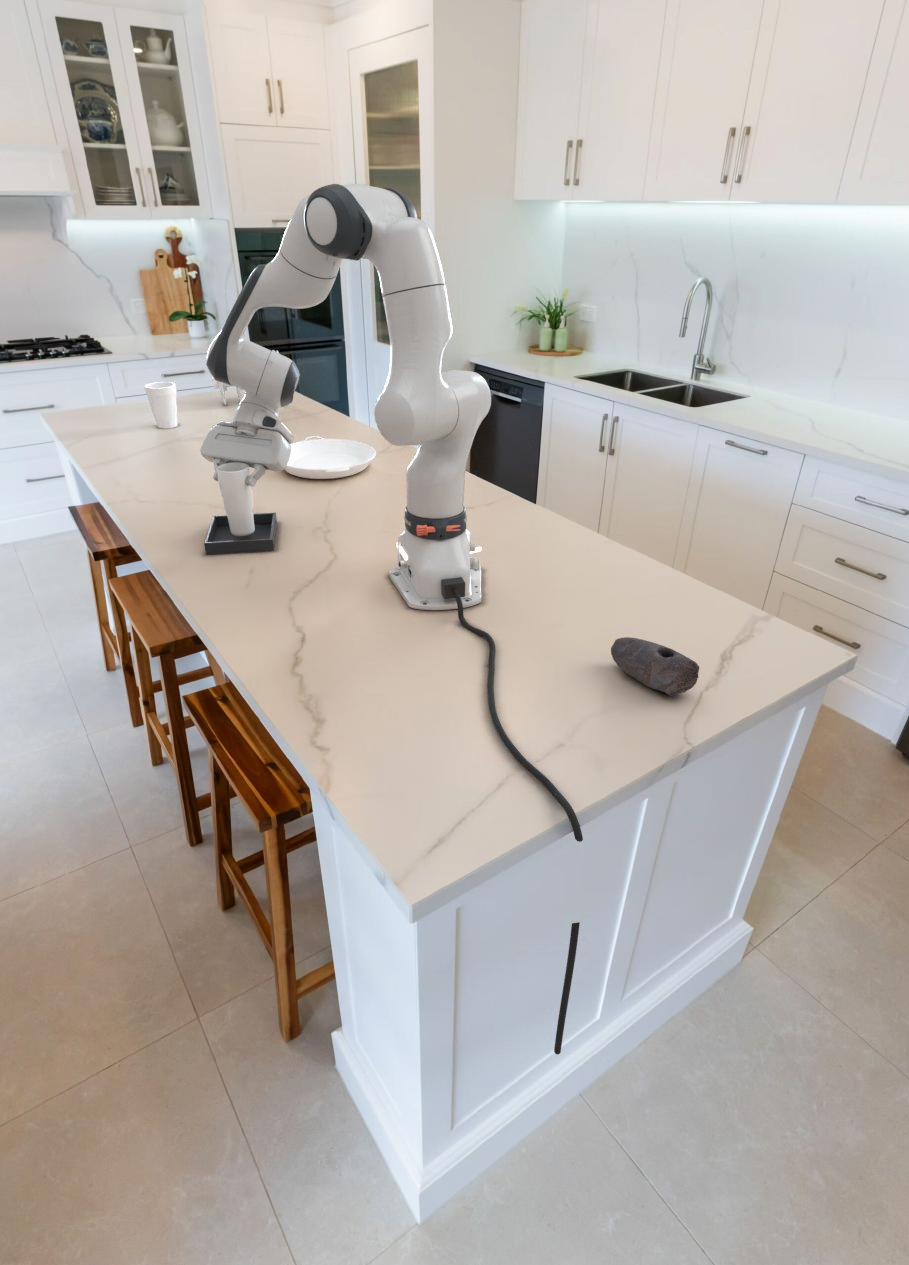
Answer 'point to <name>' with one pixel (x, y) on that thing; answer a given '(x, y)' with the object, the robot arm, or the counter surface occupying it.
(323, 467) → the pan
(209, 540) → the baking tray
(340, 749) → the counter surface
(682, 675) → the perforated stone tool
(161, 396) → the foam cup
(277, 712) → the counter surface
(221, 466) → the white tall cup
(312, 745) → the counter surface
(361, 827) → the counter surface
